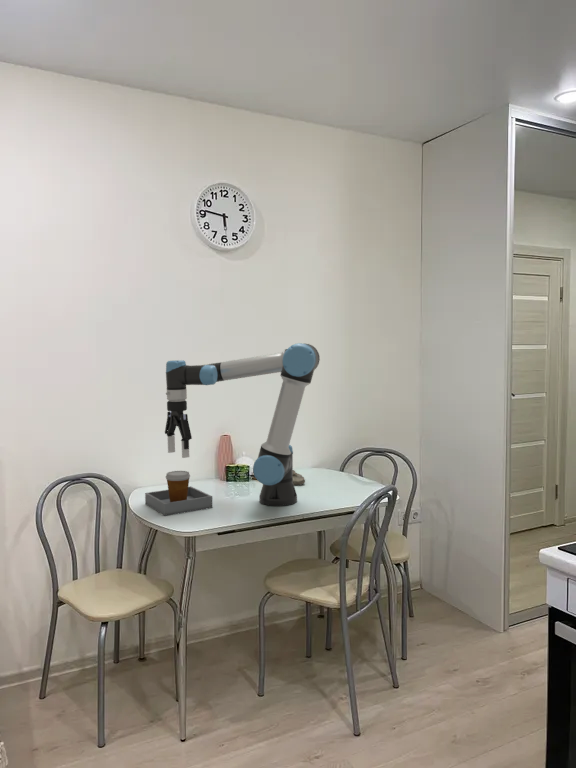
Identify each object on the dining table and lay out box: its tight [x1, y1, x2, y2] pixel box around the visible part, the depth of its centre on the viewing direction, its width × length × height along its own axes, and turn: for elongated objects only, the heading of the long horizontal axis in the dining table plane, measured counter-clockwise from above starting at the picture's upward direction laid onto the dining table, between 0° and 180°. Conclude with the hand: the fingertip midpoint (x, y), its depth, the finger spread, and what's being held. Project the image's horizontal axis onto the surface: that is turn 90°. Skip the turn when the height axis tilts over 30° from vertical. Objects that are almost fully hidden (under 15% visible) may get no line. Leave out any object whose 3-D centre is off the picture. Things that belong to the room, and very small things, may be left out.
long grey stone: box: [293, 469, 306, 486], centre depth 285 cm, size 35×5×10 cm
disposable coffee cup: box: [165, 470, 191, 502], centre depth 239 cm, size 10×10×12 cm
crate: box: [144, 486, 213, 517], centre depth 240 cm, size 20×20×4 cm
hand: (178, 454), depth 238 cm, fingers open, 13 cm apart
